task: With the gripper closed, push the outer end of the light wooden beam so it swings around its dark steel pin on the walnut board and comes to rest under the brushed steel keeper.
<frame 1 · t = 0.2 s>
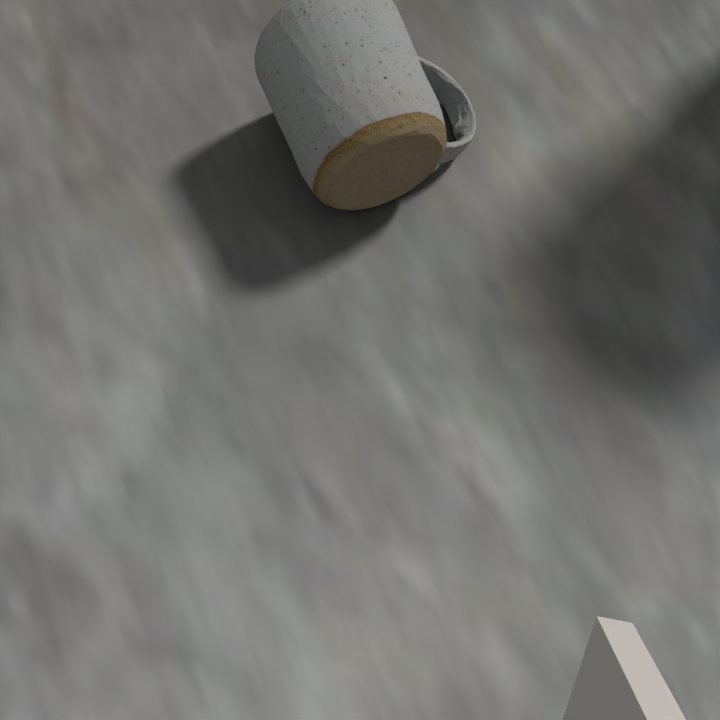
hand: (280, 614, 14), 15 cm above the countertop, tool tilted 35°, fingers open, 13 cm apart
ceramic mug: (370, 143, 37), on the countertop
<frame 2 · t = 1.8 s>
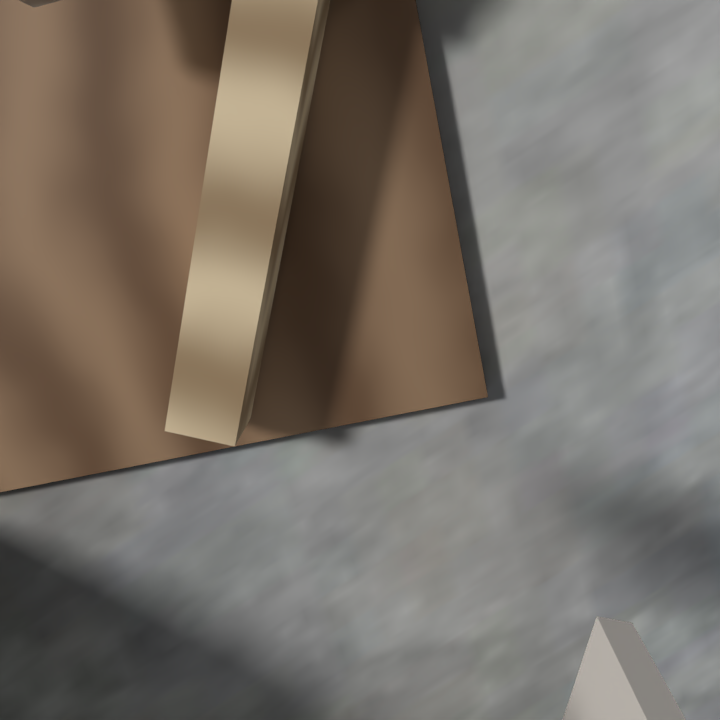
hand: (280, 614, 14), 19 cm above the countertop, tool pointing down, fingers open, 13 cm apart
light wooden beam: (257, 154, 28), point 3 cm above the countertop, hinge at 65.0°
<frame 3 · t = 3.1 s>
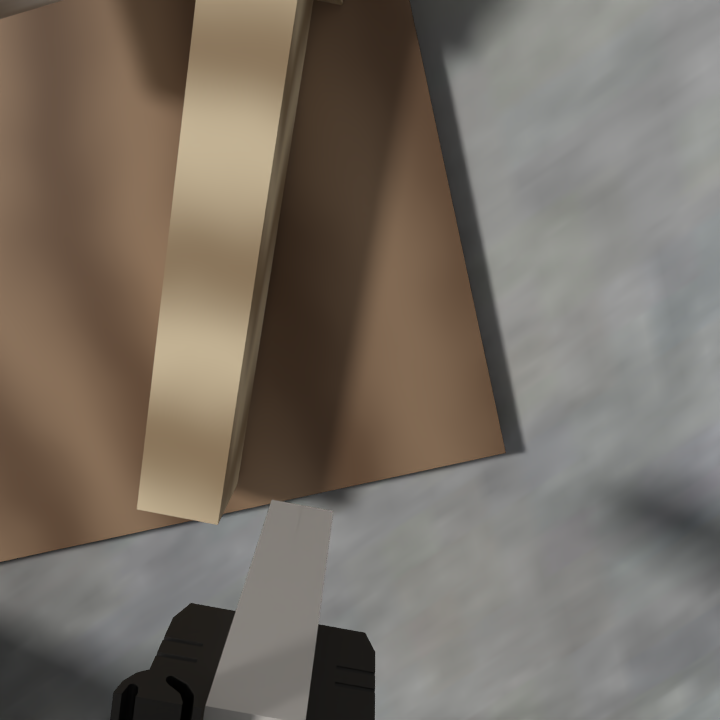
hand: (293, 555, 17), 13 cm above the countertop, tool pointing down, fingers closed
light wooden beam: (232, 190, 24), point 3 cm above the countertop, hinge at 65.0°
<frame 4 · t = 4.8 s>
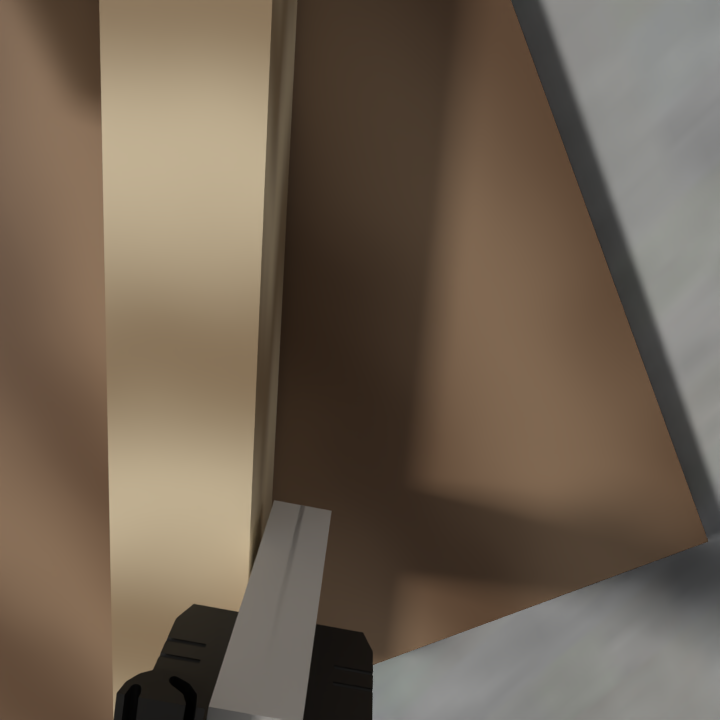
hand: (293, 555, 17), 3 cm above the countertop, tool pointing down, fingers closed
light wooden beam: (205, 231, 15), point 3 cm above the countertop, hinge at 60.7°, touching gripper
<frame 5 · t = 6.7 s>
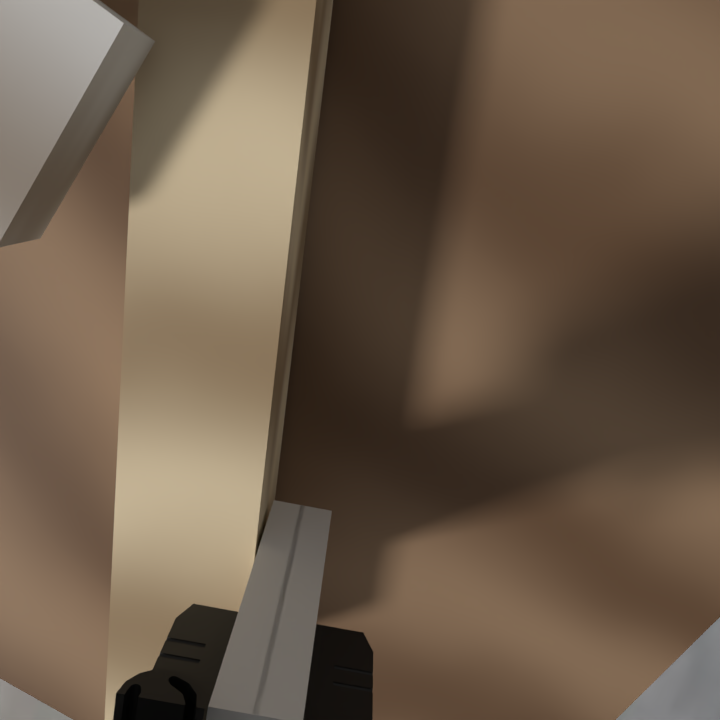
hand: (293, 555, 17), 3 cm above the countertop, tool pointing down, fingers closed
light wooden beam: (228, 221, 14), point 3 cm above the countertop, hinge at 27.7°, touching gripper
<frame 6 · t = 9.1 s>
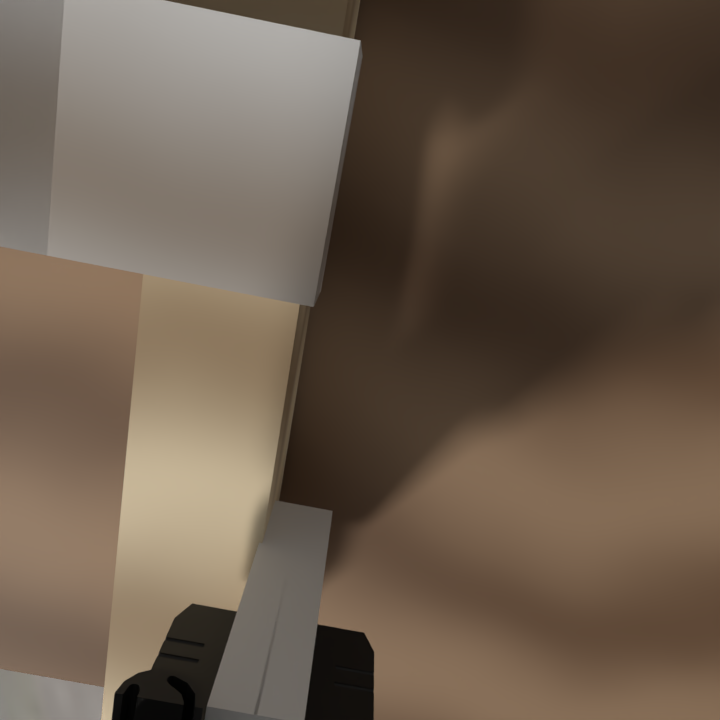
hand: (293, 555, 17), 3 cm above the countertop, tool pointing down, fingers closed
light wooden beam: (246, 220, 14), point 3 cm above the countertop, hinge at 0.7°, touching gripper
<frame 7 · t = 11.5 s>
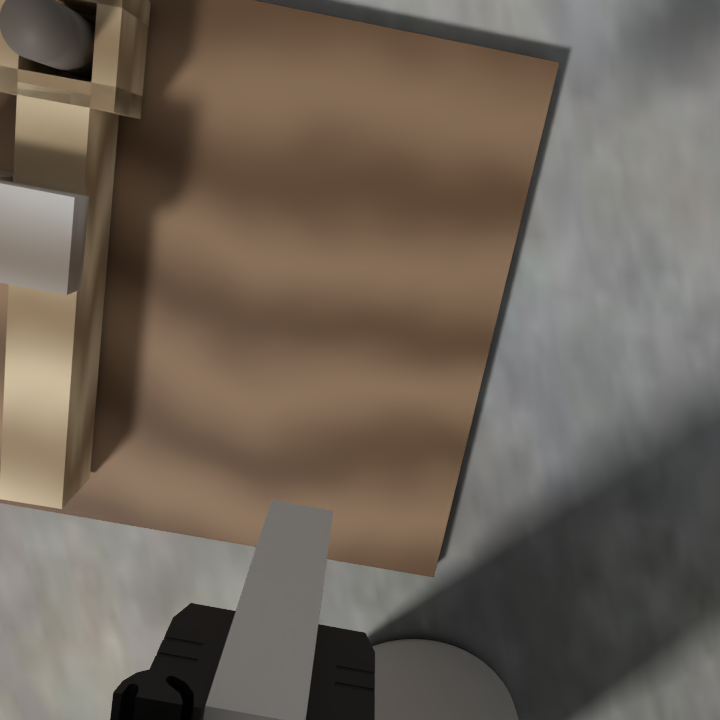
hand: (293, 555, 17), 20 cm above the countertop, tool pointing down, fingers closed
cylinder vase: (411, 718, 42), on the countertop
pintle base: (101, 56, 33), on the countertop
light wooden beam: (61, 258, 32), point 3 cm above the countertop, hinge at 0.7°
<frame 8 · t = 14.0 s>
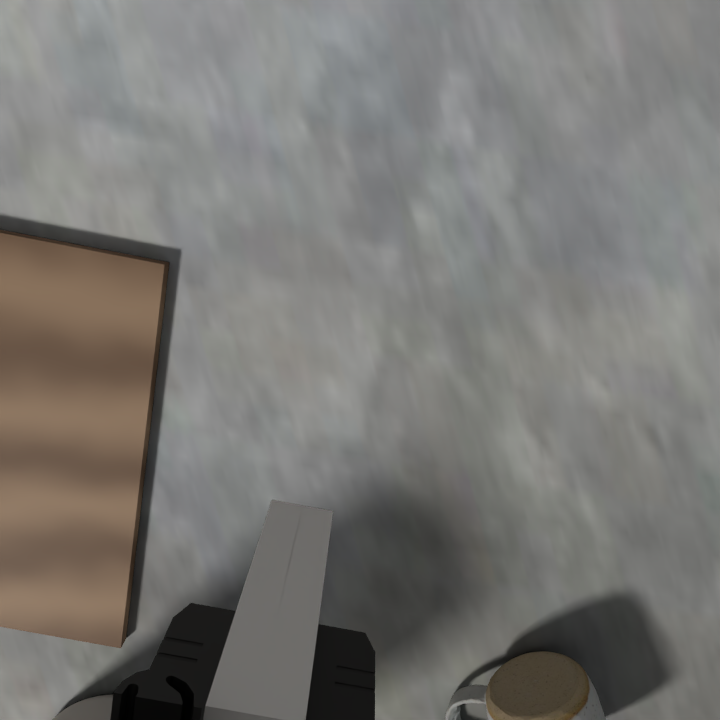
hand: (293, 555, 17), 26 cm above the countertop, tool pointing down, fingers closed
ceramic mug: (520, 697, 50), on the countertop
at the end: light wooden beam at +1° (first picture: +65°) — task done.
